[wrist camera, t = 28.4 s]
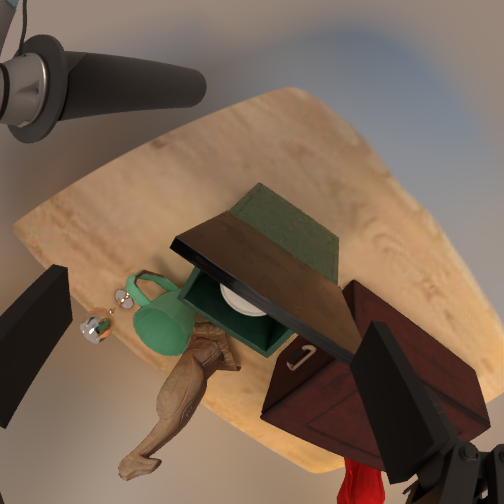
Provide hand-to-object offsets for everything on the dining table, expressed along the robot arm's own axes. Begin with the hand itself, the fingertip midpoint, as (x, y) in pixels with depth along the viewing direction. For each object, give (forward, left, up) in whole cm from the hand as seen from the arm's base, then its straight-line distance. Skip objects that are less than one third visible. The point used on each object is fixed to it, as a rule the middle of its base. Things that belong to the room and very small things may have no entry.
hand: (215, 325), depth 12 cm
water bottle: (+59, -10, -33) cm, 68 cm away
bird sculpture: (+22, -30, -33) cm, 49 cm away
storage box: (+38, -1, -33) cm, 50 cm away
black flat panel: (+4, -1, -11) cm, 12 cm away
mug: (+9, -29, -33) cm, 44 cm away
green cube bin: (+8, -9, -33) cm, 35 cm away
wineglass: (+7, -43, -33) cm, 54 cm away
